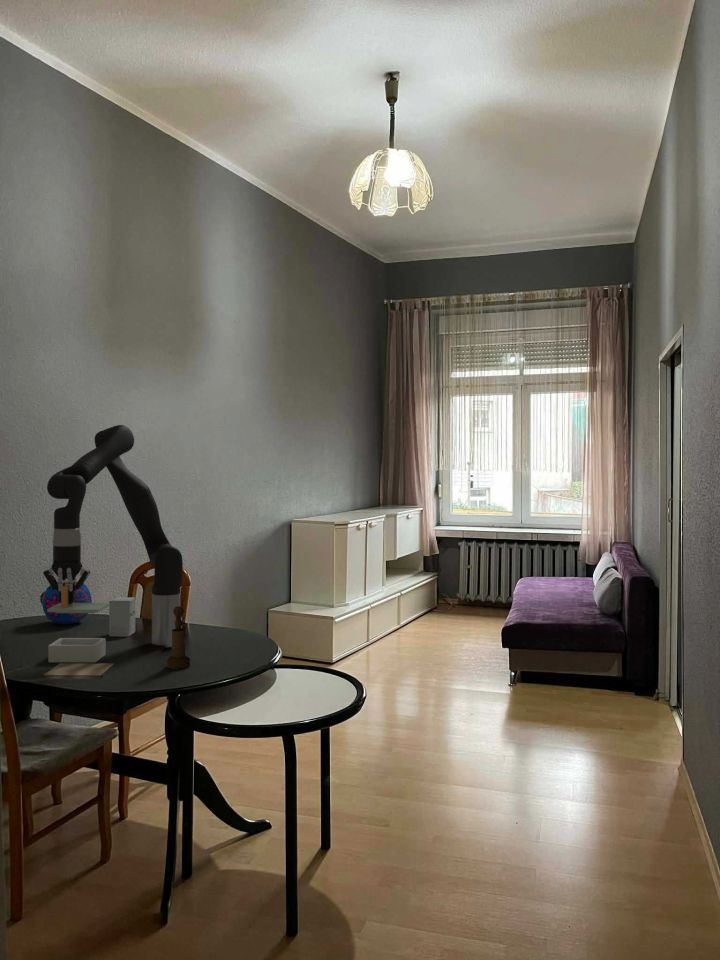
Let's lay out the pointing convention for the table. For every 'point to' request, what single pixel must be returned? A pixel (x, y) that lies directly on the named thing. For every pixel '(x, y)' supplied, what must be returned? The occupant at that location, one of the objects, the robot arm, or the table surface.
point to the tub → (77, 650)
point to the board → (78, 670)
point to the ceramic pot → (52, 599)
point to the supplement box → (122, 617)
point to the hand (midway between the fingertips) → (66, 603)
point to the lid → (76, 605)
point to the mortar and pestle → (178, 643)
